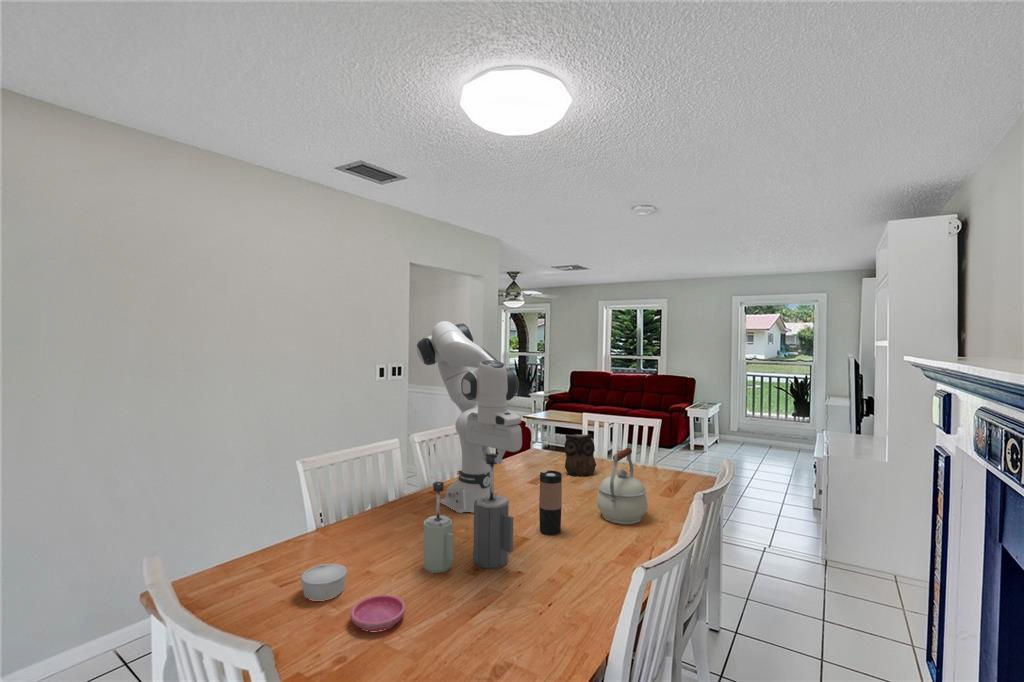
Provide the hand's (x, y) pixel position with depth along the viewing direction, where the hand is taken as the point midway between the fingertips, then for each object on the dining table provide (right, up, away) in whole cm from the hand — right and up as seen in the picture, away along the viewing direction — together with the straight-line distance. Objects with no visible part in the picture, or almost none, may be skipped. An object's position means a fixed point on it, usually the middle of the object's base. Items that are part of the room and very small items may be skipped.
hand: (492, 461), depth 147 cm
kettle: (+48, -30, +38) cm, 68 cm away
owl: (+39, -29, +95) cm, 107 cm away
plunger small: (-15, -15, -4) cm, 22 cm away
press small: (-15, -30, -5) cm, 33 cm away
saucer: (-25, -30, -31) cm, 50 cm away
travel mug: (+19, -30, +23) cm, 42 cm away
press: (+1, -30, -1) cm, 30 cm away
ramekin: (-43, -30, -19) cm, 55 cm away
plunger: (0, -11, 0) cm, 11 cm away
